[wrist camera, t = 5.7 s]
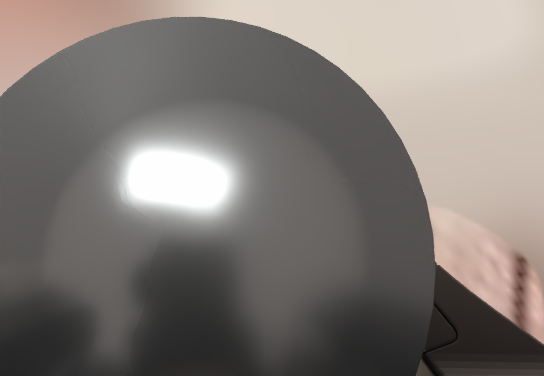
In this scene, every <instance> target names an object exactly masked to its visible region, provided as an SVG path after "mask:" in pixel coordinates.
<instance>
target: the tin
mask: <svg viewBox="0 0 544 376" xmlns="http://www.w3.org/2000/svg"><path fill="white" fill-rule="evenodd" d="M434 286H435V255H434V240H433V232H432V227H431V222H430V217H429V212H428V207H427V202H426V198H425V195H424V192H423V189H422V186H421V184H420V181H419V178H418V175H417V172H416V169H415V167H414V165H413V163H412V161H411V159H410V157H409V154H408V153H407V150H406V148H405V146H404V144H403V142H402V140H401V139H400V137H399V136H398V134H397V133H396V131H395V129H394V128H393V126H392V125H391V123H390V122H389V120H388V119H387V118H386V116H385V114H384V113H383V112H382V110H381V109H380V108H379V107H378V106H377V105H376V104H375V103H374V101H373V100H372V99H371V98H370V97H369V95H368V94H367V93H366V92H365V91H364V90H363V89H362V88H361V87H360V86H359V85H358V84H357V83H355V81H353V80H352V79H351V78H350V77H349V76H348V75H347V74H346V73H344V72H343V71H342V70H341V69H340V68H339V67H337V66H336V65H334V64H333V63H331V62H330V61H328V60H327V59H325V58H324V57H323V56H321V55H320V54H318V53H317V52H315V51H314V50H312V49H309V48H308V47H306V46H304V45H302V44H300V43H298V42H296V41H294V40H292V39H290V38H288V37H286V36H283V35H281V34H278V33H275V32H272V31H270V30H267V29H264V28H261V27H258V26H254V25H249V24H245V23H240V22H237V21H232V20H225V19H216V18H206V17H170V18H162V19H155V20H146V21H140V22H137V23H133V24H129V25H124V26H120V27H117V28H112V29H110V30H107V31H105V32H102V33H99V34H96V35H94V36H91V37H89V38H86V39H83V40H81V41H79V42H77V43H75V44H73V45H72V46H69V47H67V48H65V49H63V50H62V51H60V52H58V53H56V54H55V55H53V56H51V57H50V58H48V59H47V60H45V61H44V62H42V63H41V64H39V65H38V66H36V67H35V68H33V69H32V70H31V71H29V72H28V73H27V74H26V75H24V76H23V77H22V78H21V79H20V80H18V81H17V82H16V83H15V84H13V85H12V86H11V87H10V88H8V89H7V91H5V92H4V93H3V94H2V96H1V97H0V376H415V374H416V371H417V368H418V365H419V362H420V359H421V356H422V353H423V350H424V347H425V344H426V340H427V335H428V330H429V325H430V320H431V315H432V310H433V301H434Z"/></svg>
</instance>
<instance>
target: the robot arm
mask: <svg viewBox="0 0 544 376" xmlns="http://www.w3.org/2000/svg"><path fill="white" fill-rule="evenodd" d="M415 376H544V344H543V343H541V342H540V341H538V340H537V339H536V338H534V337H533V336H531V335H530V334H529V333H527V332H526V331H524V330H523V329H522V328H520V327H519V326H517V325H516V324H515V323H513V322H512V321H510V320H509V319H508V318H506V317H505V316H503V315H502V314H501V313H499V312H498V311H497V310H495V309H494V308H492V307H491V306H490V305H488V304H487V303H486V302H484V301H483V300H482V299H480V298H479V297H478V296H476V295H475V294H474V293H472V292H471V291H470V290H469V289H467V288H466V287H465V286H464V285H462V284H461V283H460V282H459V281H458V280H456V279H455V278H454V277H453V276H451V275H450V274H449V273H448V272H447V271H446V270H444V269H443V268H442V267H441V266H440V265H437V263H436V262H435V286H434V301H433V310H432V315H431V320H430V325H429V330H428V335H427V340H426V344H425V347H424V350H423V353H422V356H421V359H420V362H419V365H418V368H417V371H416V374H415Z"/></svg>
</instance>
